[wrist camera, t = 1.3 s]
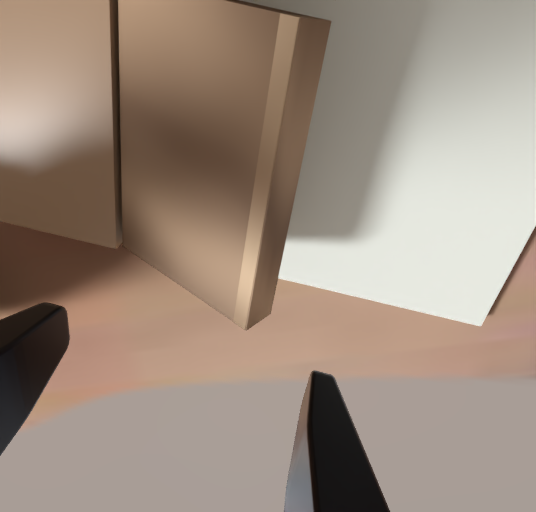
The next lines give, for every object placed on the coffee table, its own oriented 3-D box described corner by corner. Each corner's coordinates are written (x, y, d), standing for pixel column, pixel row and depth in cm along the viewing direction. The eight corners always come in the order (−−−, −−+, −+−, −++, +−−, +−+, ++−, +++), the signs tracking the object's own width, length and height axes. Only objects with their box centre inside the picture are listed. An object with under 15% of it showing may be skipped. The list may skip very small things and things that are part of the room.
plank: (270, 313, 18) (245, 331, 17) (149, 235, 21) (122, 246, 20) (331, 20, 12) (300, 17, 11) (154, -19, 16) (117, -25, 15)
